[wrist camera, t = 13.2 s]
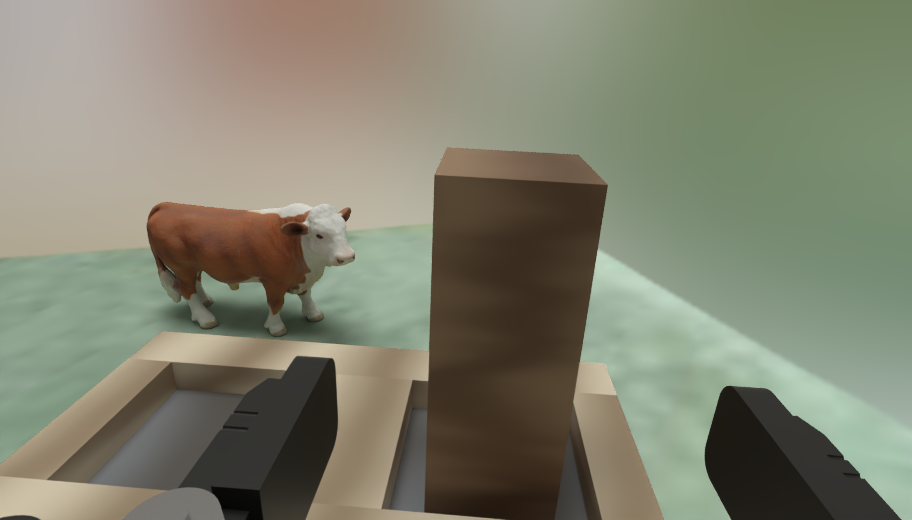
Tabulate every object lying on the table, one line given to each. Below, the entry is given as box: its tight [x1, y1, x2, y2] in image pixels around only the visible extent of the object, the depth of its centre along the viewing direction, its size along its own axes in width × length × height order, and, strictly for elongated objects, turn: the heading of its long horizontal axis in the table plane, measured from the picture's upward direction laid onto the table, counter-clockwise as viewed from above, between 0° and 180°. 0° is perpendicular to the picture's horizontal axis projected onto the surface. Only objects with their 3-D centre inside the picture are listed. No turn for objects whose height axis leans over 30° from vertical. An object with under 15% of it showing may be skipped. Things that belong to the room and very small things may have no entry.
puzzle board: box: [0, 331, 664, 520], centre depth 20 cm, size 22×12×2 cm, turn 86°
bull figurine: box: [147, 202, 355, 336], centre depth 30 cm, size 4×13×8 cm, turn 75°
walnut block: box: [424, 148, 608, 520], centre depth 18 cm, size 4×4×12 cm
